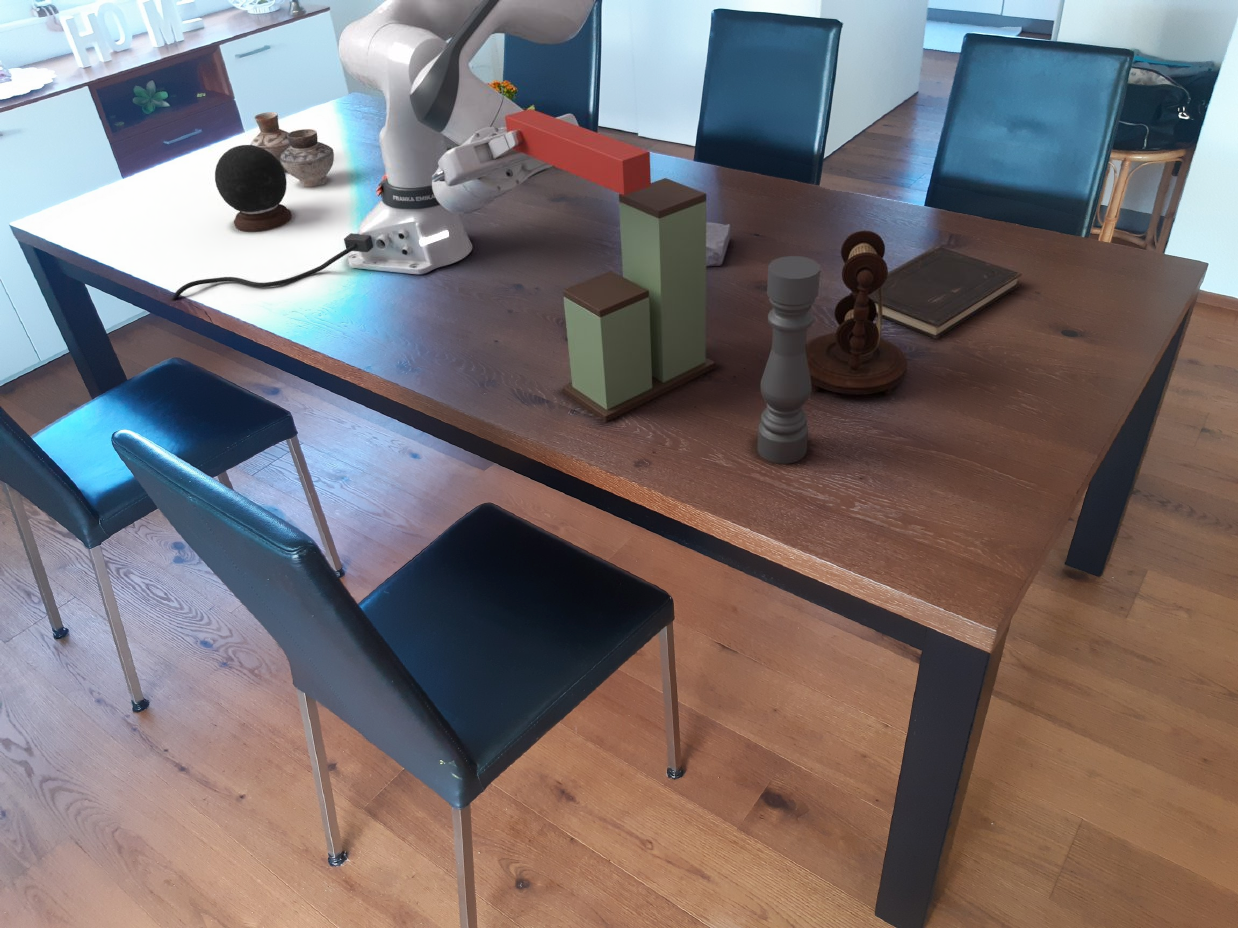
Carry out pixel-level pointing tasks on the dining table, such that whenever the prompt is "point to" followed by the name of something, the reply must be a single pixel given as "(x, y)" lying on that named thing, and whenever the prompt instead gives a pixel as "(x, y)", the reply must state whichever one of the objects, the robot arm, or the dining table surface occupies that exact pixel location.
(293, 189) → the dining table surface
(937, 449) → the dining table surface
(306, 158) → the pottery
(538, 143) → the red bar
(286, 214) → the black ball on stand
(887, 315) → the hardcover book
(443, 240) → the robot arm
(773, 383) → the candle holder
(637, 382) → the step shelf
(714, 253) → the stone block
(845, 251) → the scroll
